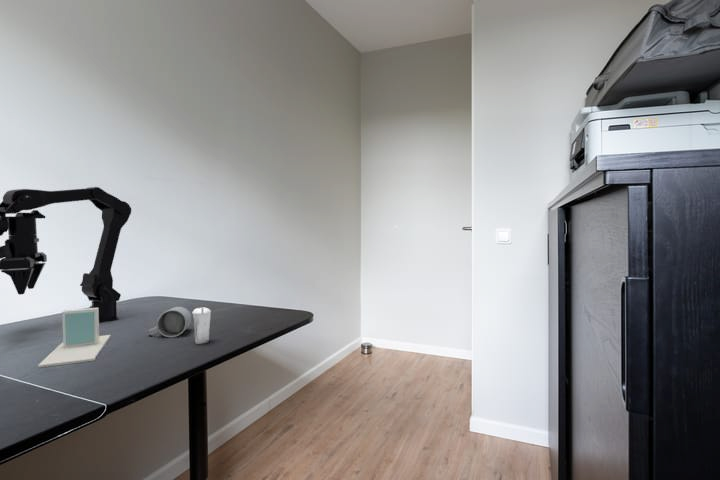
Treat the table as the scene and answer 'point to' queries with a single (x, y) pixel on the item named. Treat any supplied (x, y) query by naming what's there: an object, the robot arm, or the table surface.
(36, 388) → the table surface
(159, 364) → the table surface
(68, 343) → the tile
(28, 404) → the table surface
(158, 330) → the ceramic mug
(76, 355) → the mat
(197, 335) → the milkshake
